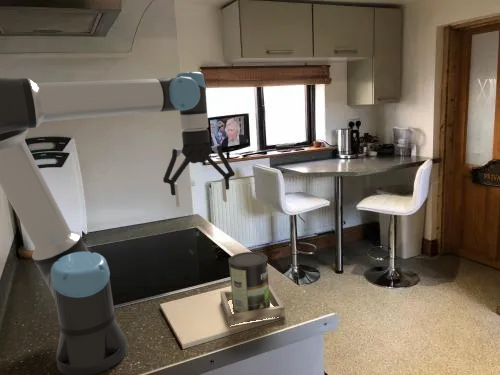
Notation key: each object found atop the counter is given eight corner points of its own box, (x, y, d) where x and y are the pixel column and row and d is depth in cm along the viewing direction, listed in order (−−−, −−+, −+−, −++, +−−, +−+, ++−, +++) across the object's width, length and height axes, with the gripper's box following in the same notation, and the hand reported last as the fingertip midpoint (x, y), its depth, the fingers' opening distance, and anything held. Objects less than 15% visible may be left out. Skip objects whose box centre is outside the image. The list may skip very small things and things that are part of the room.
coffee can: (272, 299, 118) (270, 251, 115) (266, 318, 108) (264, 266, 105) (237, 297, 120) (233, 251, 117) (228, 316, 110) (224, 265, 107)
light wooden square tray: (229, 327, 106) (229, 316, 105) (221, 301, 120) (220, 291, 119) (284, 317, 109) (284, 307, 108) (270, 293, 122) (269, 283, 122)
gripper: (236, 125, 124) (241, 195, 128) (149, 132, 119) (157, 205, 123) (241, 127, 117) (246, 201, 121) (149, 134, 112) (157, 211, 116)
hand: (201, 203), depth 122 cm, fingers open, 13 cm apart
